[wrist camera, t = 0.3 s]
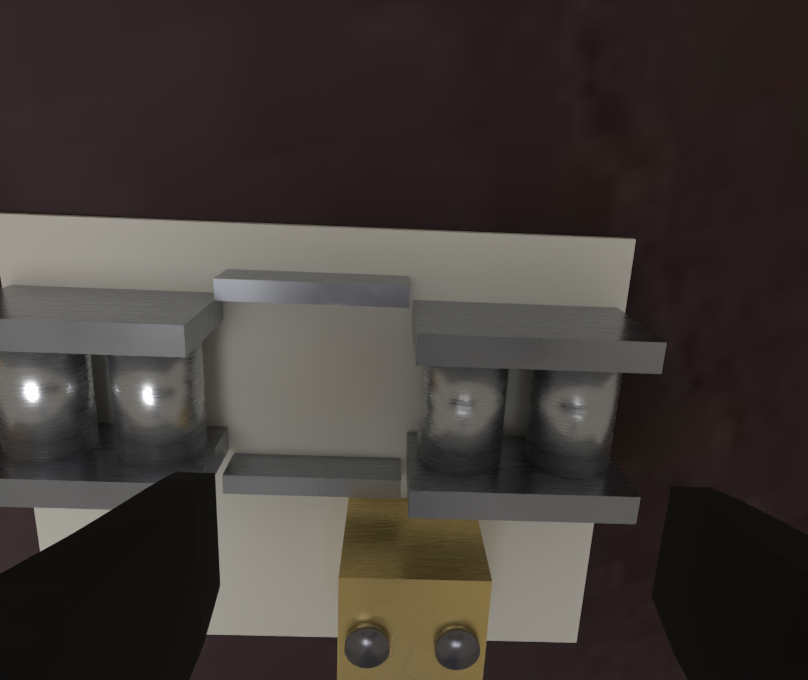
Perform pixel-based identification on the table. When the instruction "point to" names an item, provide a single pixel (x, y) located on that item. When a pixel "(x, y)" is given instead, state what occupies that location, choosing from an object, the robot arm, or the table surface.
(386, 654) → the tan knob cube
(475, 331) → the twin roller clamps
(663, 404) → the table surface
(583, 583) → the mat
